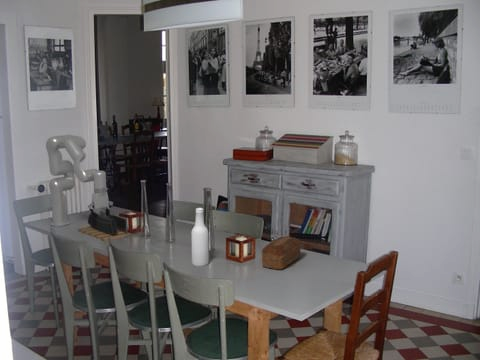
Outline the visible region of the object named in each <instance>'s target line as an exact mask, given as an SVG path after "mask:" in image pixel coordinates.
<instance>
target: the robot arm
mask: <svg viewBox="0 0 480 360" xmlns="http://www.w3.org/2000/svg"><path fill="white" fill-rule="evenodd" d="M86 145H87V142H86V140H85V139H84V137H82V136H80V135H79V136H78V135H73V134H65V135H54V136H50V137H49V138H47V140H46V142H45V148H46V152H47V155H48V165H49V167H48V168H49V172H50V175H52V176H53V177H55V178H52V179H50V180H49V182H48V187H49V192H50V198H51V212H52V213H51V214H52V217H51V219H52V221H51V222H50V226H51V227H52V226H53V227H63V226H68V225H70V224H71V221H70V220H68V204H67V203H68V202H67V196H66V195H65V193H64V192H66V191H70V190H72V189H74V188H75V185H76V178H77V179H78V181H80V182H81V183H85V184H86V183H89V182H93V193H92V195H91V203H90V204H89V205H87V209H88V210H89V211H90V213H91V212H92V218H94V219H96V214H97V213H96V211H97V210H101V209H105V212H106V215H107V216H109V214H111V213H110V212H111V211H110V210H111V209H112V206H113V204H114V202H113V201H110V200H109V195H108V189H109V188H108V187H107V173H106V171H105V170H99V169H97V168H91V169H85V170H84V169H83V168H82V166H81V163H82V162H83V161H84V160H85V159H86V157H87V155H86V153H85V151H84V150H83V149H85V148H86ZM59 149H60V150H61V149H65V150H66V152H67V154H68V155H69V156H70V157H71V159H72V161H73V162H71V161H70V160H69V159H66V160H65V159H64V160H63V155H62V152H61V151H60V150H59ZM57 176H58V177H57ZM75 177H76V178H75Z"/></svg>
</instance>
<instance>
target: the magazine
mask: <svg viewBox="0 0 480 360" xmlns="http://www.w3.org/2000/svg"><path fill="white" fill-rule="evenodd" d="M87 224H88V226H92V228H95V229H96V230H98V231H100V232H103V233H108V234H117V233H118V232H117V227H116V222H115V221H114V219H113V218H112V219H108V218H104V217H101V216H100V214H98V213H96V219H94V218H92V212H91V211H90V214H89V215H88V217H87Z"/></svg>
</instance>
